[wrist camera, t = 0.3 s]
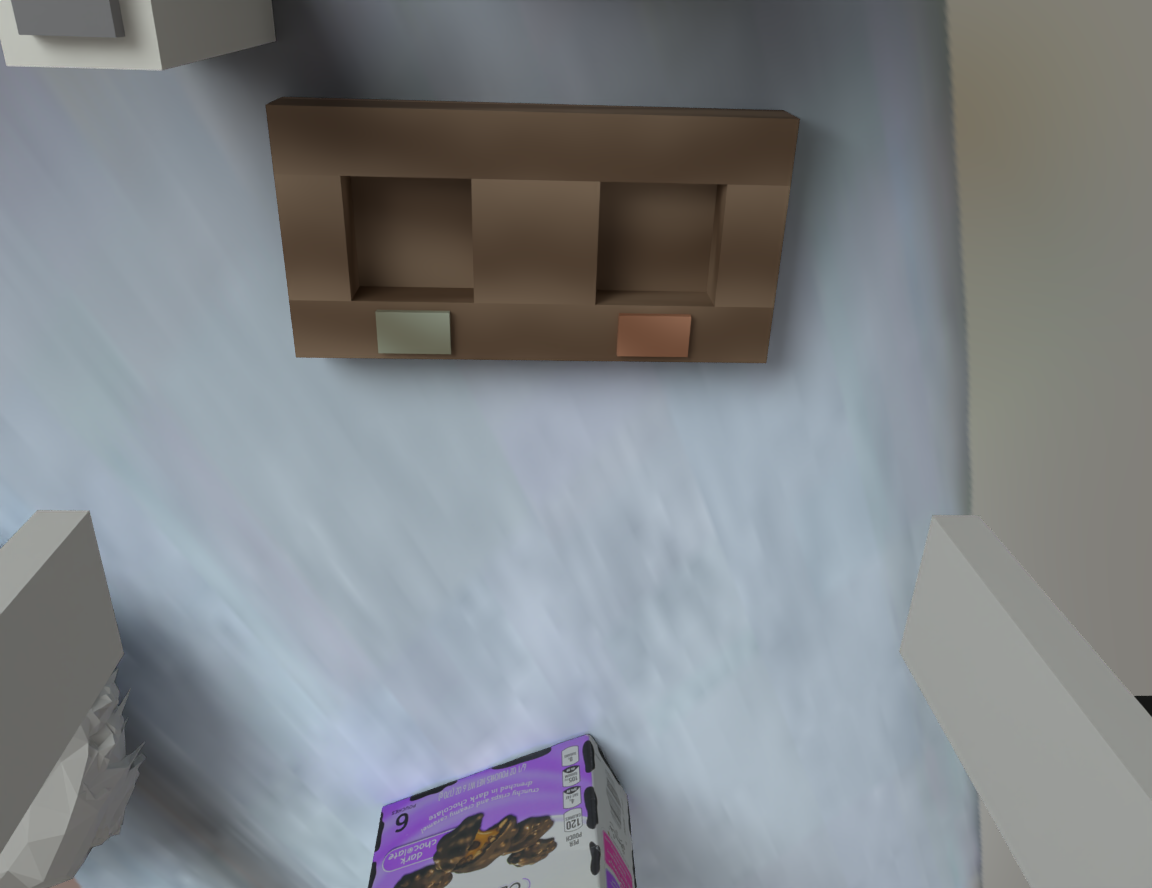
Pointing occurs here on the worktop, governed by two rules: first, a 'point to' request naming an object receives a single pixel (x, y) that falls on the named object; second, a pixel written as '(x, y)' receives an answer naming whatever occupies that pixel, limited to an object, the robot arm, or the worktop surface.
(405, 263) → the socket board
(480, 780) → the candy box
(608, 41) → the worktop surface
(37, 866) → the bowl
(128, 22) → the plug
